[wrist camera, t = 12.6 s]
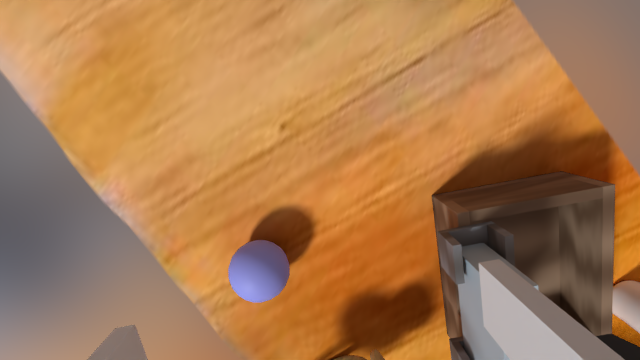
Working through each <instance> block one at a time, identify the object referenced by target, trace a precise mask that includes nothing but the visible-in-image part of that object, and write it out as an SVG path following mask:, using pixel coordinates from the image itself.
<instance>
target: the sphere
mask: <svg viewBox="0 0 640 360" xmlns="http://www.w3.org/2000/svg"><path fill="white" fill-rule="evenodd" d="M288 278H289V262H288V259H287V256H286V254H285V253H284V251H283V250H282V249H281V248H280V247H279V246H278V245H276V244H275V243H273V242H270V241H267V240H255V241H251V242H248V243H246V244H245V245H243V246H242V247H240V248H239V249H238V250H237V252H236V253H235V254H234V256H233V257H232V259H231V262H230V265H229V281H230V283H231V286H232V288H233V290H234V291H235V292H236V293H237V294H238V295H239V296H240V297H242V298H243V299H245V300H247V301H251V302H264V301H268V300H271V299H272V298H274V297H275V296H277V295H278V294H279V293H280V292H281V291H282V290H283V288H284V287H285V286H286V283H287V280H288Z"/></svg>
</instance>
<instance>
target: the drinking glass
mask: <svg viewBox="0 0 640 360" xmlns="http://www.w3.org/2000/svg"><path fill="white" fill-rule="evenodd" d="M612 313H613V314H614V315H615V316H617V317H618V318H620V319H621V320H623V321H624V322H625V323H627V324H628V325H629V326H631V327H632V328H633V329H634V330H636V331H637V332H638V333H640V282H637V281H632V280H627V281H622V282H620V283H617V284H616V285H614V286H613V303H612Z"/></svg>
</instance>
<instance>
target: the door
mask: <svg viewBox="0 0 640 360" xmlns="http://www.w3.org/2000/svg"><path fill="white" fill-rule="evenodd" d="M462 258H463V269H464V279H465V283H463V284H458V291H459V301H460V311H461V321H462V332H463V342H464V350H465V352H466V354H467V355H468V357H469V358H470V360H510V359H509V358H508V356H507V355H506V354H505V353H504V351H503V350H502V349H501V347H500V346H499V345H498V344H497V342H496V341H495V340H494V339H493V337H492V336H491V335H490V334H489V332H488V331H487V330H486V328H485V327H484V322H483V310H482V298H481V286H480V274H479V263H480V262H485V261H491V260H496V259H500V260H501V261H502V262H503V263H505V264H506V265H507V266H508V267H510V268H511V269H512V270H513V271H515V272H516V273H517V274H518V275H520V276H521V277H522V278H523V279H525V280H526V281H527V282H528V283H530V284H531V285H532V286H533V287H535V288H536V289H537V290H538V285H537V284H536V283H535V282H533V281H532V280H531V279H530V278H528V277H527V276H526V275H524V274H523V273H522V272H521V271H519V270H518V269H517V268H515V267H514V266H513V265H512V264H510V263H509V262H508V261H506V260H505V259H504V258H503V257H501V256H500V255H499V254H497V253H496V252H495V251H494V250H492V249H491V248H490V247H488V246H487V245H486V244H485V243H478V244H473V245H467V246H462Z"/></svg>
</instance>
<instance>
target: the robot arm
mask: <svg viewBox="0 0 640 360" xmlns="http://www.w3.org/2000/svg"><path fill="white" fill-rule="evenodd" d="M479 274H480V286H481V298H482V310H483V322H484V327H485V328H486V330H487V331H488V332H489V334H490V335H491V336H492V337H493V339H494V340H495V341H496V342H497V344H498V345H499V346H500V347H501V349H502V350H503V351H504V353H505V354H506V355H507V356H508V358H509V359H510V360H640V348H639V347H638V346H636V345H634V344H632V343H630V342H628V341H626V340H624V339H621V338H619V337H617V336H615V335H613V334H605V335H599V336H595V335H593V334H592V333H591V332H590V331H588V330H587V329H586V328H585V327H583V326H582V325H581V324H580V323H578V322H577V321H576V320H575V319H573V318H572V317H571V316H570V315H568V314H567V313H566V312H565V311H563V310H562V309H561V308H560V307H558V306H557V305H556V304H555V303H553V302H552V301H551V300H550V299H548V298H547V297H546V296H545V295H543V294H542V293H541V292H540V291H538V290H537V289H536V288H535V287H533V286H532V285H531V284H530V283H528V282H527V281H526V280H525V279H523V278H522V277H521V276H520V275H518V274H517V273H516V272H515V271H513V270H512V269H511V268H510V267H508V266H507V265H506V264H505V263H503V262H502V261H501V260H500V259H496V260H491V261H485V262H480V263H479ZM87 360H148V359H147V357H146V354H145V351H144V348H143V345H142V343H141V340H140V337H139V334H138V332H137V329H136V326H135V325H131V326H126V327H120V328H115V329H114V330H113V331H112V333H111V334H110V335H109V336H108V337H107V338H106V339H105V340H104V341H103V343H102V344H101V345H100V346H99V347H98V348H97V349H96V350H95V352H94V353H93V354H92V355H91V356H90V357H89V358H88V359H87Z"/></svg>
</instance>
